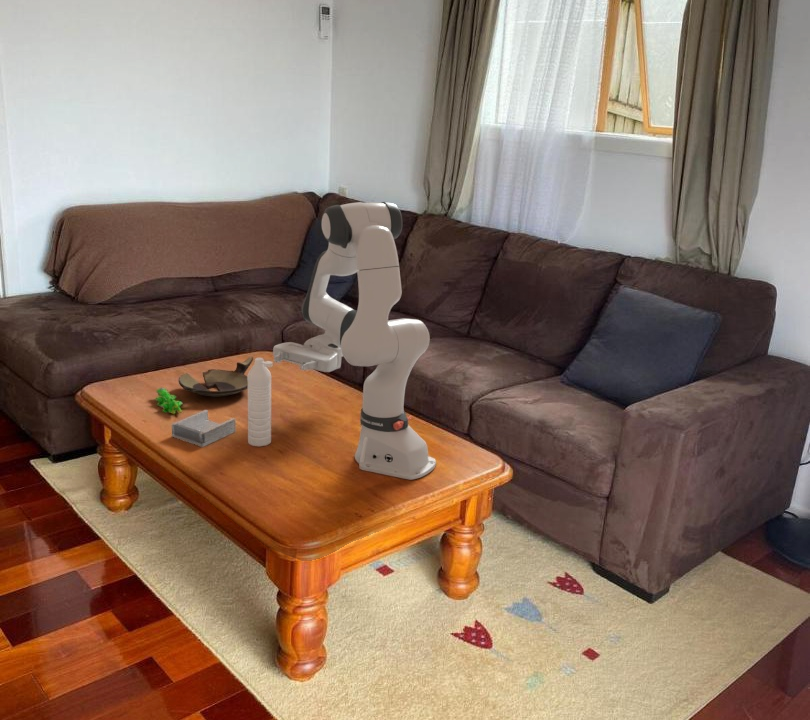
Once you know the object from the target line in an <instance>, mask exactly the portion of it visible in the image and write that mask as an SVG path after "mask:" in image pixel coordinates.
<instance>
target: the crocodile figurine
mask: <svg viewBox="0 0 810 720" xmlns="http://www.w3.org/2000/svg"><path fill="white" fill-rule="evenodd" d="M156 393H157V395H158V396H156V397H155V399H154V400H155V402H157V404H156V405H157V406H158V405H160V406H159V407H160V408H163V409H162V412H163V411H164V412H163V413H166V412H167V413H169V414H170V413H171V414H173V415H175V414H176V412H178V413H179V414H181V413H182V408H181V406H182V405H183V402H182V401H180V400H176V399H177V395H174V394H170V391H168V389H166V388H164V387H161V388H158V389H156Z"/></svg>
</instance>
